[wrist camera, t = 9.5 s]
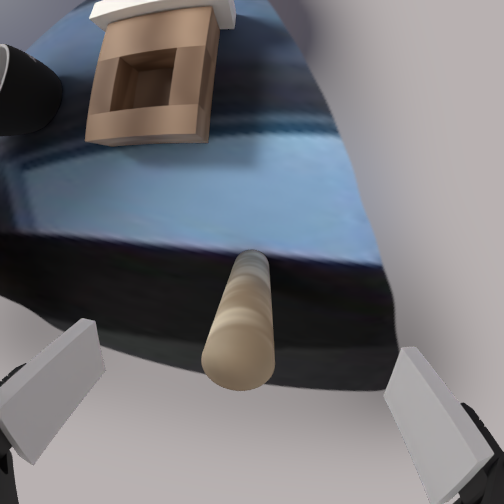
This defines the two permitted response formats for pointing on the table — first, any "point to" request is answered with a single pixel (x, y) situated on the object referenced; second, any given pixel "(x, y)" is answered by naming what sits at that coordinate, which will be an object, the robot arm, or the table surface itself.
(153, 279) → the table surface
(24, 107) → the mug
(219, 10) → the rail
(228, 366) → the dowel
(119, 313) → the table surface
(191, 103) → the block
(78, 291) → the table surface
